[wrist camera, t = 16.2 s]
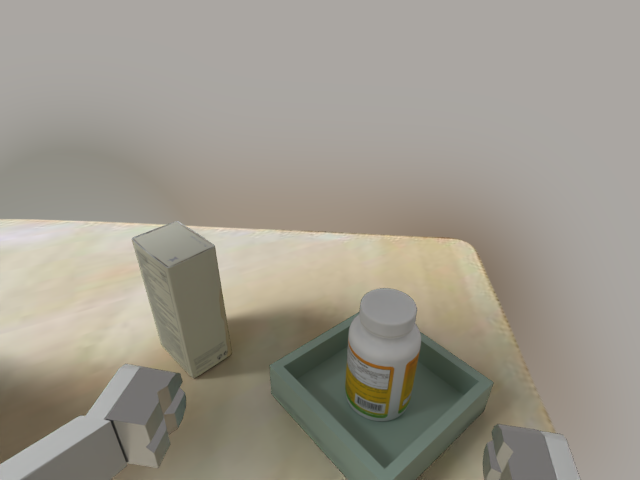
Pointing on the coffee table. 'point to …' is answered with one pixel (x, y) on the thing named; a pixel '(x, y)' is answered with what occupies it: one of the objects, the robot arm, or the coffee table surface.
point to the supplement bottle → (382, 355)
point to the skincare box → (185, 295)
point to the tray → (378, 436)
